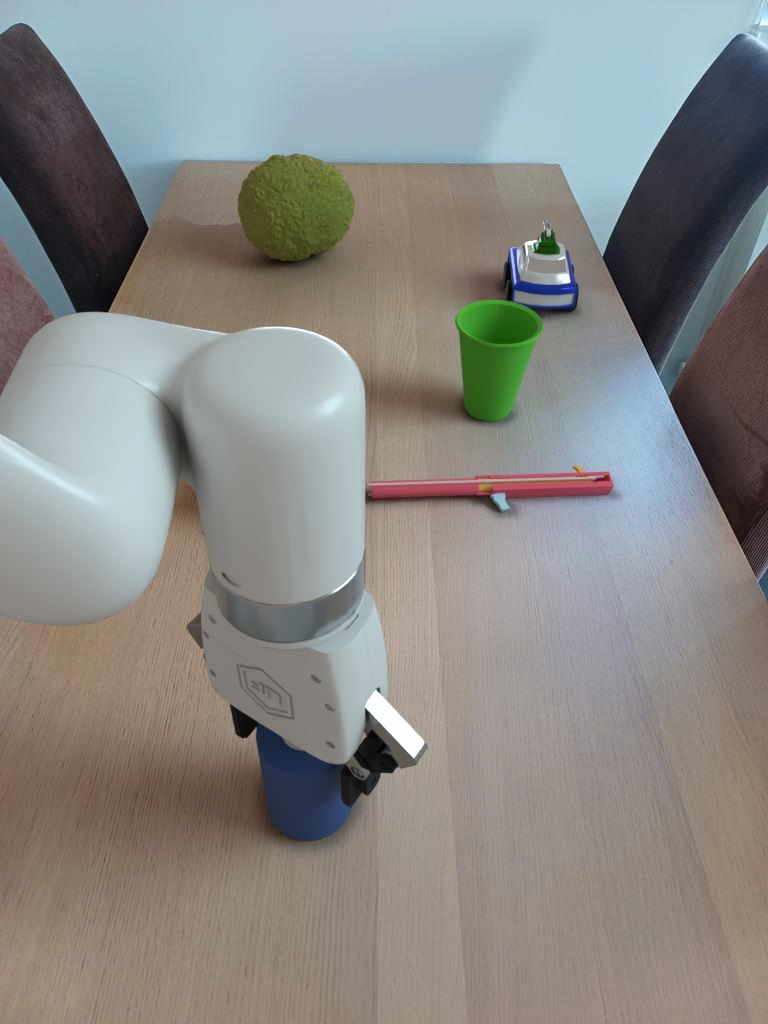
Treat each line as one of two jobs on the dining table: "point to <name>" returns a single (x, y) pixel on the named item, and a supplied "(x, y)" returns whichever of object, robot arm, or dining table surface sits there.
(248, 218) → the fruit
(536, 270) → the toy car
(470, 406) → the cup
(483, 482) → the pink long slotted bar
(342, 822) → the bottle
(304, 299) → the dining table surface
